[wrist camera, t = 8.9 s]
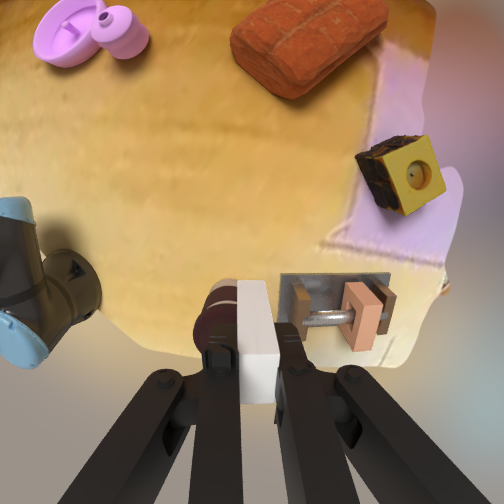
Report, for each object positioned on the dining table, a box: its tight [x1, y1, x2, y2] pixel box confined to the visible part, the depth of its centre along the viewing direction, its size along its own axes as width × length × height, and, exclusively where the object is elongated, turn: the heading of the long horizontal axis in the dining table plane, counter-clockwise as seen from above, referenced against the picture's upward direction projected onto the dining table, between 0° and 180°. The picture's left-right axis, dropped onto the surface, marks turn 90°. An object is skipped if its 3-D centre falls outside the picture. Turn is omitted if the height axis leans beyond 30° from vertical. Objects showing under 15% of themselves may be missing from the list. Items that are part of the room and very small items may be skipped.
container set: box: [33, 0, 149, 68], centre depth 29 cm, size 25×15×13 cm, turn 64°
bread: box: [230, 0, 388, 100], centre depth 33 cm, size 16×27×11 cm, turn 136°
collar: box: [338, 282, 383, 352], centre depth 47 cm, size 4×9×9 cm, turn 179°
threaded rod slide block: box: [277, 272, 397, 341], centre depth 49 cm, size 22×11×8 cm, turn 89°
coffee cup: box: [193, 279, 237, 354], centre depth 45 cm, size 10×10×15 cm
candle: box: [355, 135, 446, 216], centre depth 41 cm, size 10×10×10 cm
